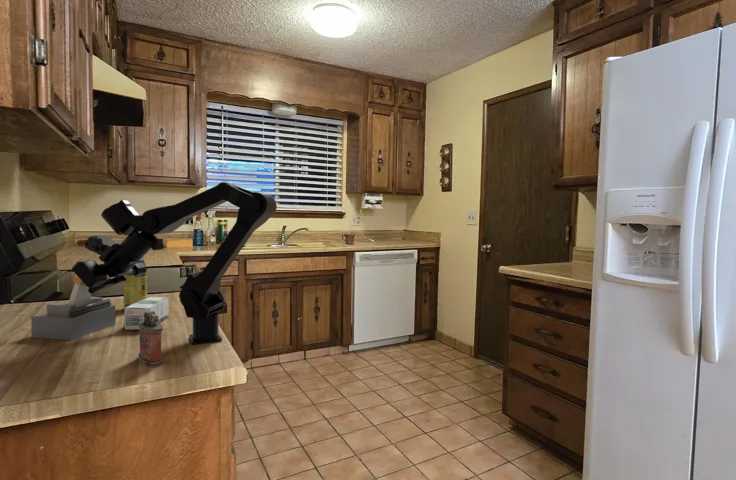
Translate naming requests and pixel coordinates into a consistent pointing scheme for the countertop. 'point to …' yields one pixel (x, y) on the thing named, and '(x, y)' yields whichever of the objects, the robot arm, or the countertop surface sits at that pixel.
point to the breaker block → (73, 319)
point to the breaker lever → (79, 293)
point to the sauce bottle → (134, 288)
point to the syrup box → (137, 310)
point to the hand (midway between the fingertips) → (90, 292)
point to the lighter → (150, 340)
